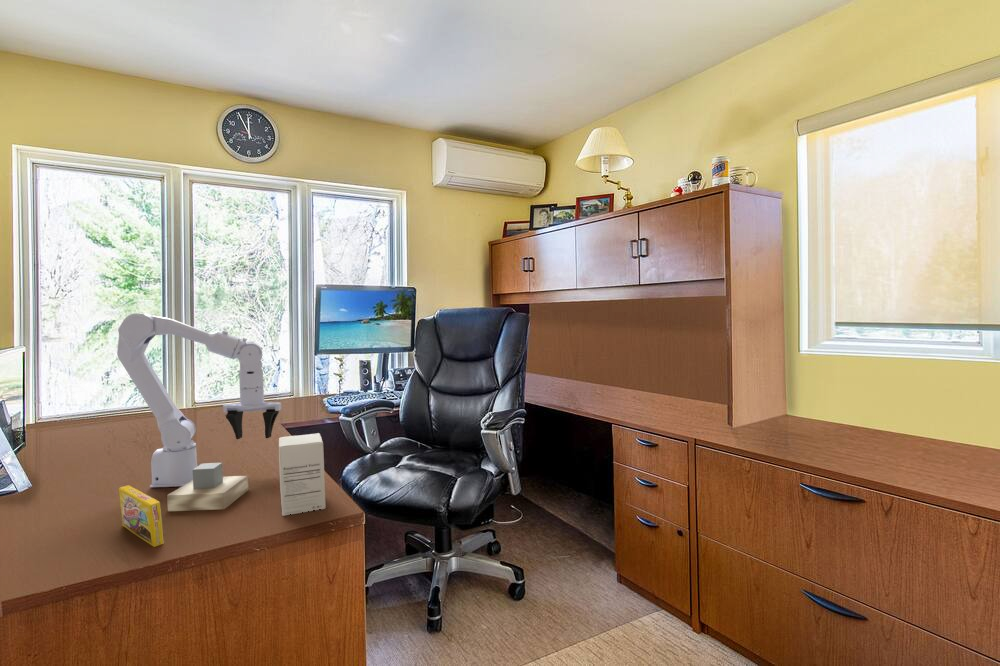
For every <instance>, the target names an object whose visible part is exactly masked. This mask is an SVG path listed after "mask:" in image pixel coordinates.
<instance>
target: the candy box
mask: <svg viewBox="0 0 1000 666" xmlns="http://www.w3.org/2000/svg"><path fill="white" fill-rule="evenodd" d="M118 495H119V505H120V513H121V521H122V523H121V524H122V527H124V528H125V529H127V530H128V531H130V532H131V533H132V534H134V535H135V536H137V537H138V538H139V539H142V541H145V542H146V543H147V544H149V545H150V546H152V547H153V548H155V547H158V546H161V545H164V543H165V541H164V533H163V531H164V530H163V521H162V520H163V519H162V518H163V517H162V509H161V502H160V501H159V500H158V499H155V498H153V497H152V496H150V495H148V494H146V493H144V492H142V491H140V490H139V489H137V488H134V487H133V486H132V485H130V484H128V485H125V486H120V487H119V488H118Z"/></svg>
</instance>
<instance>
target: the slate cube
mask: <svg viewBox="0 0 1000 666" xmlns="http://www.w3.org/2000/svg"><path fill="white" fill-rule="evenodd" d="M223 474H224V472H223V462H209V463H208V462H207V463H200V464H199V465H197V467H196V468H194V469H193V489H209V488H215V487H217V486H218V485H219V484H221V483H222V482H223V477H224V475H223Z"/></svg>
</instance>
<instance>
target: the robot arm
mask: <svg viewBox="0 0 1000 666" xmlns="http://www.w3.org/2000/svg"><path fill="white" fill-rule="evenodd" d="M117 330H118V331H117V332H118V342H117V343H118V344H117V351H116V354H117V358H118V359H119V361H120V363H121V365H122V366H123V368H124V370H125V371H126V373H127V374H128V375H129V377H130V379H131V381H132V382H133V383H134V385H135V387H136V388H137V390H138V392H139V393H140V395H141V396H142V398H143V400H144V402H145V403H146V405H147V406H148V407H149V409H150V411H151V412H152V414H153V416H154V418H155V419H156V424H157V428H158V430H159V432H160V434H161V435H160V436H161V437H160V438H161V439H160V441H161V443H162V445H163V447H162V448H157V449H156V450H155V451H154V452H153V453H152V456H151V460H150V466H151V468H150V470H151V484H150V485H149V487H150V488H169V487H182V486H184V485H185V484H187V483H189V482H190V481H192V480H193V469H194V468H196V467H197V466H198V459H197V458H198V457H197V442H196V441H195V440H193V437H194V436H195V434H196V431H197V429H196V424H195V423H194V422H193V421H192V420H191V419H188V418H187V417H186V416H185V415H184V413H183V412H182V411H181V410H180V409H179V408H178V407H177V406H176V404H175V402H174V401H173V399H172V397H171V396H170V394H169V393H168V391H167V389H166V388H165V386H164V384H163V382H162V381H161V379H160V377H159V376H158V374H157V373H156V371H155V370H154V368H153V366H152V364H151V363H150V362H149V360H148V358H147V357H146V355H145V352H146V351H147V348H148V345H149V343H150V342H151V340H152V339H153V338H155V337H156V336H164V335H172V336H175V337H176V336H177V337H180V338H183V339H186V340H189V341H191V342H192V341H193V342H196V343H200V344H202V345H205V347H206V349H207V351H208V352H210V353H213V354H216V355H220V356H223V357H225V358H228V359H231V360H235V359H237V360H238V361H239V371H238V375H239V376H238V378H239V381H238V382H239V397H240V398H239V401H240V402H239V403H238V402H237V403H236V402H235V403H225V404H223V405H222V411H223V412H222V413H226V414H225V418H226V420H227V421H228V423H229V424H230V426H231V428H232V430H233V432H234V436H235V440H240V439H241V438H243V415H244V412H261V411H263V412H262V417H263V420H264V421H263V422H264V435H265V439H270V438H271V437H272V433H273V429H274V425H275V424H274V423H275V421H276V420H277V419H276V418H277V416H278V415H279V413H280V411H281V410H282V402H280V401H279V402H275V401H274V402H273V401H265V396H264V370H263V368H262V367H263V363H262V358H263V349H262V347H261V346H260V345H259V344H257V343H256V342H254V341H247V340H248V339H247V338H245V337H243V338H240V337H237V336H234V335H232V334H229V331H227V330H225V329H223V330H222V331H220V330H216V331H213V332H207V331H205V330H202V329H200V328H197V327H194V326H193V325H192V326H191V325H189V324H186V323H183V322H181V321H179V320H176V319H173V318H169V317H164V316H159V315H154V314H152V313H148V312H146V313H145V312H144V313H141V312H135V313H131V314H129V315H127V316H126V317H125V318H124V319H123V320H122V322H121V324H120V326H119V327H118V329H117Z"/></svg>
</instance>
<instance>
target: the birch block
mask: <svg viewBox="0 0 1000 666" xmlns="http://www.w3.org/2000/svg"><path fill="white" fill-rule="evenodd" d="M248 478H249V477H248V475H231V476H229V475H228V476H223V482H222V483H221V484H219V485H218V486H217V487H215V488H209V489H193V480H192V481H190V482H189V483H187V484H185V485H184V486H179V487H178V488H177V489H175V490H173V491H172V492H170V493H168V494H167V495H166V496H167V499H166V501H167V512H183V511H184V512H185V511H186V512H187V511H189V512H190V511H207V510H211V511H212V510H226V508H228V507H229V506H230V505H231V504H233V503H234V502H235V501H237V500H238V499H240V497H242V496H243V495H244V494H246V492H248V491H249V479H248Z"/></svg>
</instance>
